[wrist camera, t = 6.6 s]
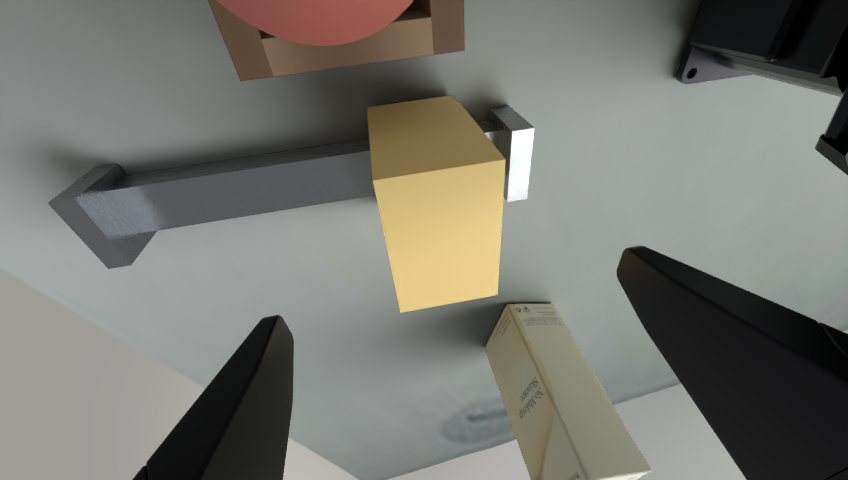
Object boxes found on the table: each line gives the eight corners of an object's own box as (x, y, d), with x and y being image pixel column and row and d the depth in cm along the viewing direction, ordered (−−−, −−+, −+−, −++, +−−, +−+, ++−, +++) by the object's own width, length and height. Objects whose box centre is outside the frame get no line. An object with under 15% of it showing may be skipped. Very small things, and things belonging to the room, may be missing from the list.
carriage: (450, 90, 16) (505, 159, 10) (455, 199, 20) (497, 294, 14) (366, 102, 16) (372, 180, 10) (387, 210, 20) (400, 312, 14)
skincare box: (505, 301, 27) (587, 480, 17) (555, 301, 28) (658, 470, 18) (482, 349, 31) (540, 519, 21) (527, 348, 32) (601, 509, 22)
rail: (508, 105, 17) (534, 128, 15) (504, 169, 20) (526, 198, 17) (95, 167, 16) (47, 203, 14) (142, 228, 18) (108, 268, 16)
